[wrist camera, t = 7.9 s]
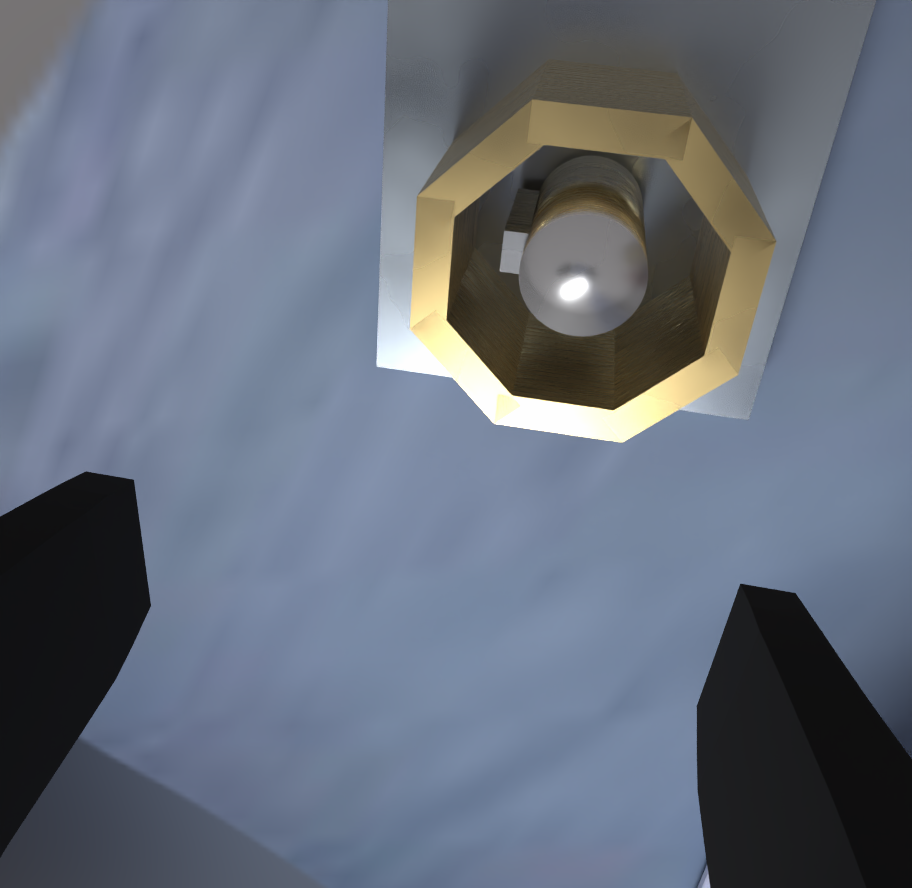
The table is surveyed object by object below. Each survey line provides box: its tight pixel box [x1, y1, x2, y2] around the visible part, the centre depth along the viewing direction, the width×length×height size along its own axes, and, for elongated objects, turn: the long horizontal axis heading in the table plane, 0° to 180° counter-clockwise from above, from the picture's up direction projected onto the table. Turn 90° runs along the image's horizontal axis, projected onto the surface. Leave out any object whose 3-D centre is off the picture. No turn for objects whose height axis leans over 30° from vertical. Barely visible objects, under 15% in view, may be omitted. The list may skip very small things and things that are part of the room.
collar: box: [410, 59, 777, 442], centre depth 15 cm, size 5×5×4 cm
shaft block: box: [377, 0, 876, 420], centre depth 16 cm, size 8×8×4 cm
